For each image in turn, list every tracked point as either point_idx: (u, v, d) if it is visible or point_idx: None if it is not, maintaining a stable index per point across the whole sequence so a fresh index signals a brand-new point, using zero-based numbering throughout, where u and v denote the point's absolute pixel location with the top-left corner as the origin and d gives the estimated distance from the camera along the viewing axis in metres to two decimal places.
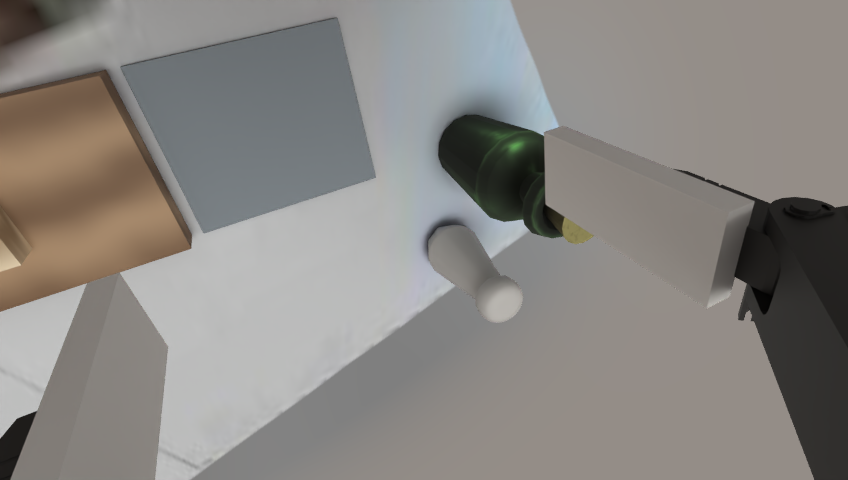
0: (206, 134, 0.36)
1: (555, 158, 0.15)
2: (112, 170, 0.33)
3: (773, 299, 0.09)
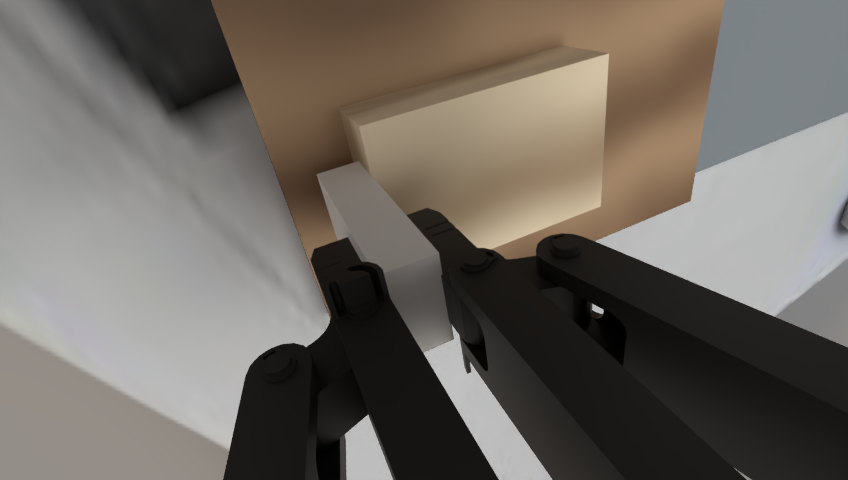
0: (745, 21, 0.23)
1: None
2: (677, 62, 0.20)
3: (488, 358, 0.09)
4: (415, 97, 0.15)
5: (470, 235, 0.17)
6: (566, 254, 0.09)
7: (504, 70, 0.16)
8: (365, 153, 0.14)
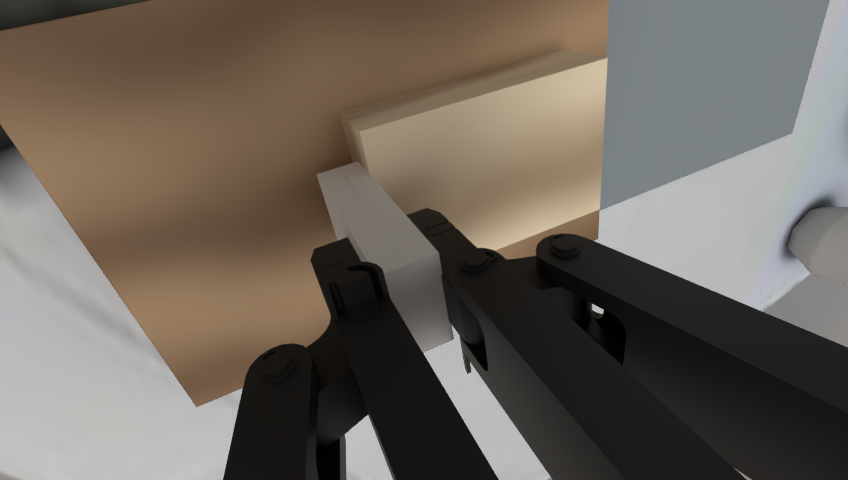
0: (650, 49, 0.22)
1: None
2: None
3: (488, 358, 0.09)
4: (415, 102, 0.15)
5: (470, 238, 0.17)
6: (566, 254, 0.09)
7: (503, 74, 0.16)
8: (365, 158, 0.14)
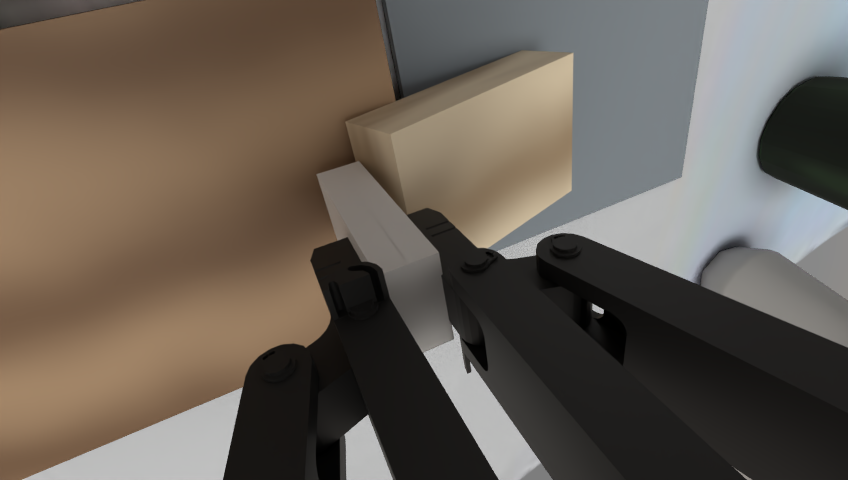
0: None
1: None
2: None
3: (488, 358, 0.09)
4: (423, 103, 0.15)
5: (479, 231, 0.17)
6: (566, 254, 0.09)
7: (488, 73, 0.17)
8: (395, 161, 0.14)
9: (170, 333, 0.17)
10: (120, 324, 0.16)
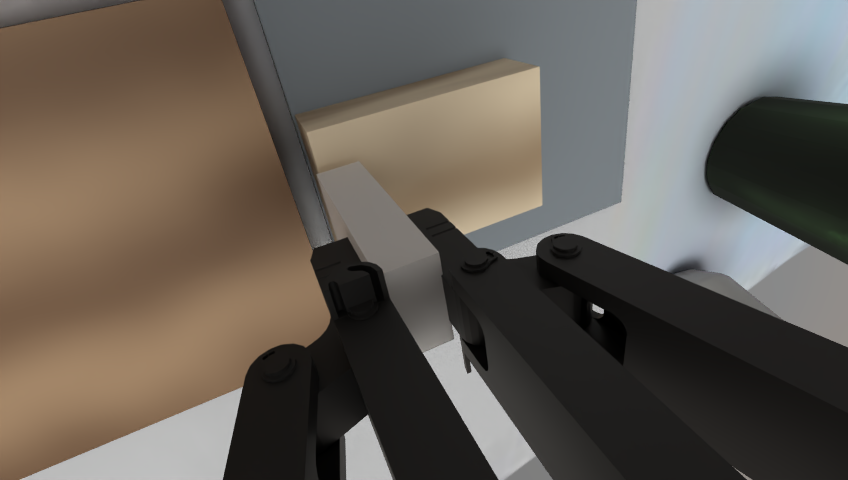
0: None
1: None
2: (223, 206, 0.15)
3: (488, 358, 0.09)
4: (362, 106, 0.17)
5: None
6: (567, 254, 0.09)
7: (446, 81, 0.18)
8: (314, 156, 0.15)
9: (34, 383, 0.16)
10: None
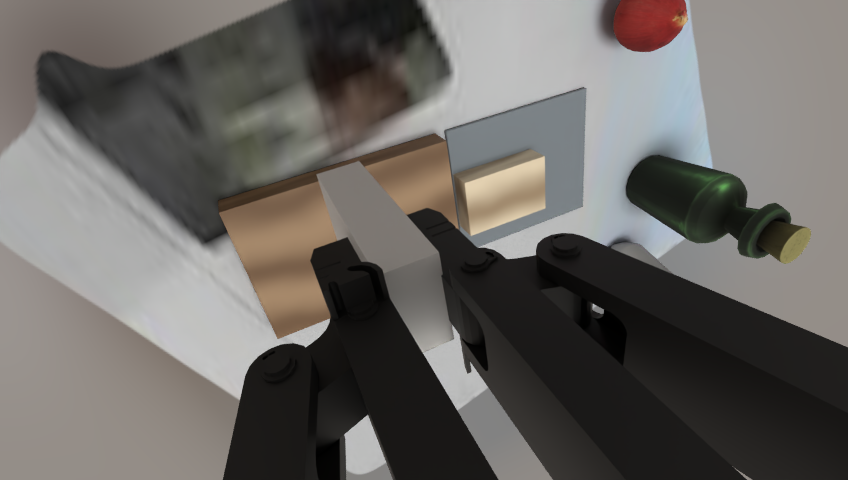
0: None
1: None
2: (433, 208, 0.44)
3: (488, 358, 0.09)
4: (479, 171, 0.45)
5: (496, 218, 0.47)
6: (567, 254, 0.09)
7: (509, 161, 0.46)
8: (465, 191, 0.44)
9: None
10: None
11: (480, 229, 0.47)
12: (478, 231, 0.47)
